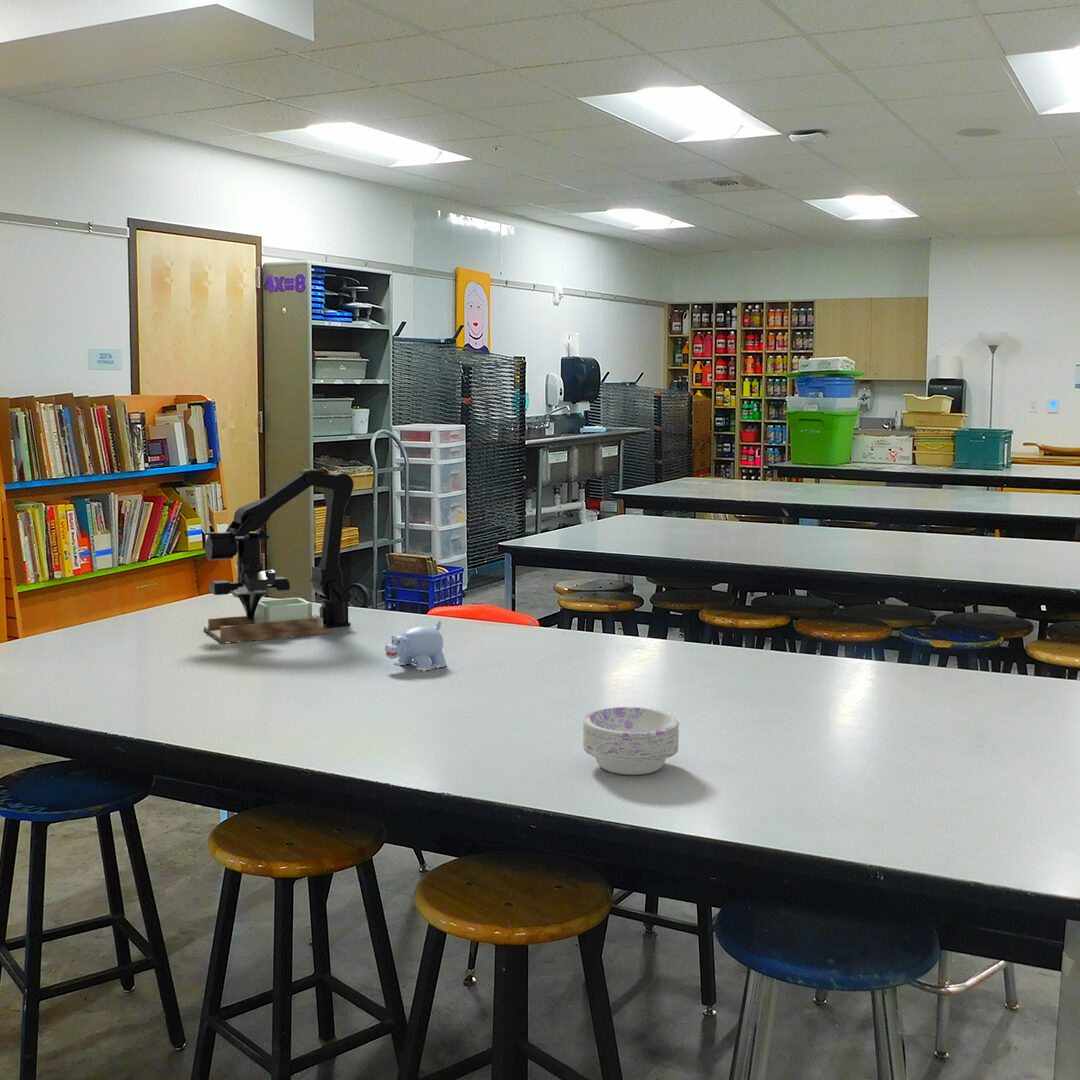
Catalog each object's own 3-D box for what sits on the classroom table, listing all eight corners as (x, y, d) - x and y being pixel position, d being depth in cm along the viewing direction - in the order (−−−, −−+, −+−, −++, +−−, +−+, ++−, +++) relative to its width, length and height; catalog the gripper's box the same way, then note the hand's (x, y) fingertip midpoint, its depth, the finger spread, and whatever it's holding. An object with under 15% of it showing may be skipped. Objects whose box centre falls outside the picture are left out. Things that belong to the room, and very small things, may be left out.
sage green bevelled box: (299, 620, 298) (299, 597, 298) (312, 626, 290) (311, 603, 289) (254, 624, 292) (253, 601, 292) (265, 631, 284) (264, 607, 283)
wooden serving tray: (307, 621, 303) (307, 608, 303) (330, 633, 288) (330, 619, 288) (203, 630, 290) (203, 617, 290) (222, 643, 275) (221, 629, 274)
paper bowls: (639, 788, 173) (640, 737, 172) (563, 767, 183) (563, 718, 182) (696, 765, 184) (698, 717, 183) (621, 746, 194) (622, 700, 193)
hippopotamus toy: (373, 668, 251) (372, 625, 250) (425, 657, 262) (425, 616, 261) (404, 676, 243) (404, 632, 242) (457, 665, 254) (457, 623, 253)
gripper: (219, 563, 273) (221, 628, 275) (296, 559, 282) (296, 622, 284) (208, 558, 283) (209, 620, 285) (282, 554, 292) (283, 614, 294)
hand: (250, 619), depth 287 cm, fingers closed
